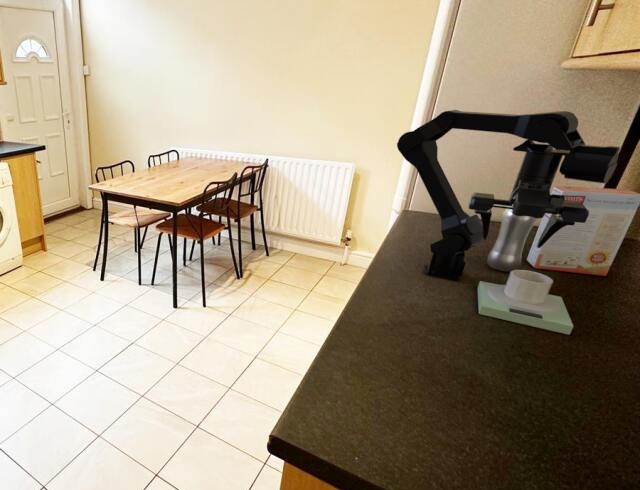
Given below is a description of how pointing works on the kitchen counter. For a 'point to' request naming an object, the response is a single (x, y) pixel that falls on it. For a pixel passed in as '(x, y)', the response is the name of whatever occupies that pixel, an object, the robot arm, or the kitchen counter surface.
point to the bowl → (527, 286)
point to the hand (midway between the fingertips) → (510, 243)
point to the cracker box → (587, 231)
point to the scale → (524, 309)
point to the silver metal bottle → (510, 241)
